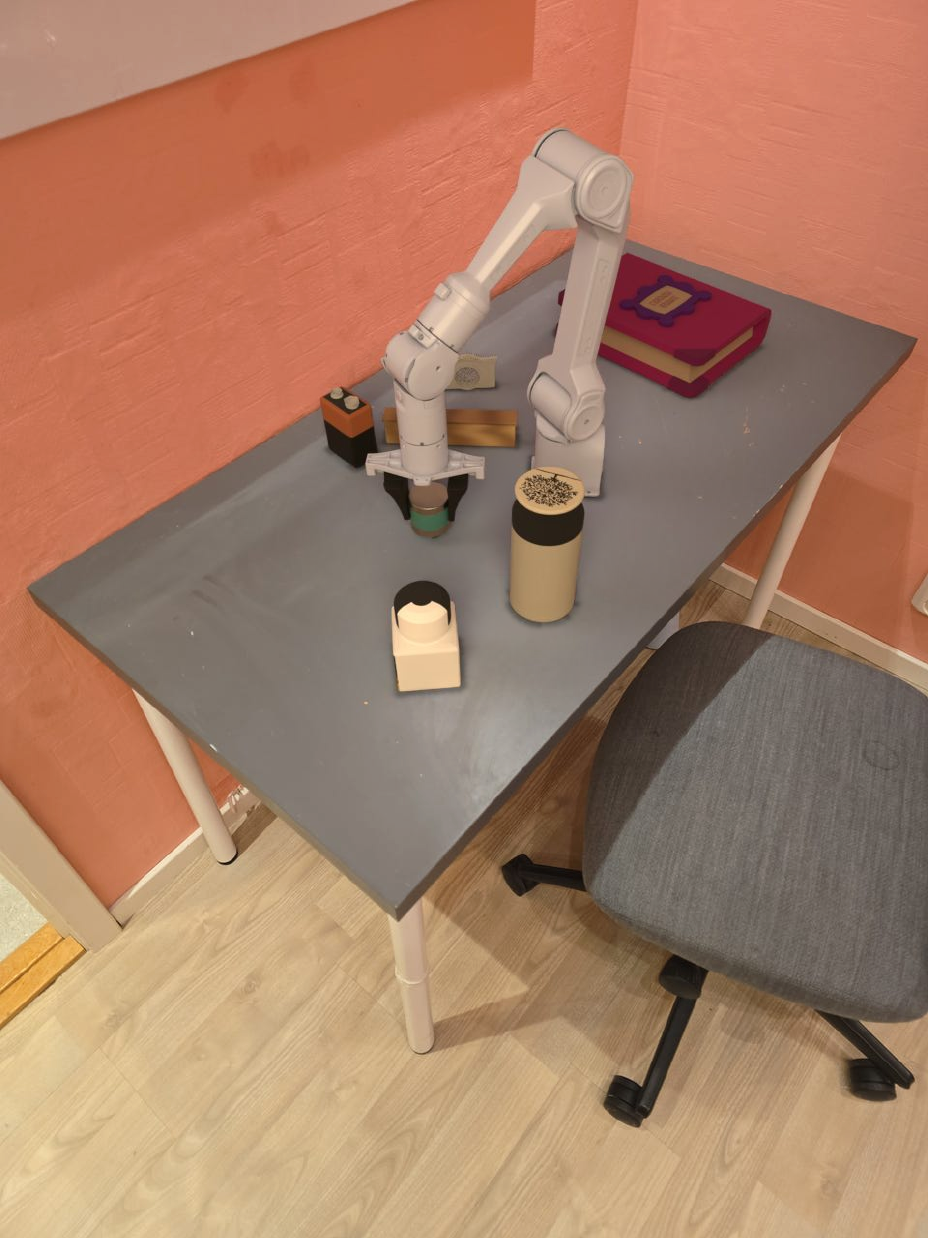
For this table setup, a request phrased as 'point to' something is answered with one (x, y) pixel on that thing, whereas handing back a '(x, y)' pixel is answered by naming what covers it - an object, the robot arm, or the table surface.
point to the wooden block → (466, 427)
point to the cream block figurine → (425, 638)
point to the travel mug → (546, 543)
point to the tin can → (429, 509)
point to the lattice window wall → (483, 367)
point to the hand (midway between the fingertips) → (429, 515)
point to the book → (677, 327)
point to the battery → (348, 426)
